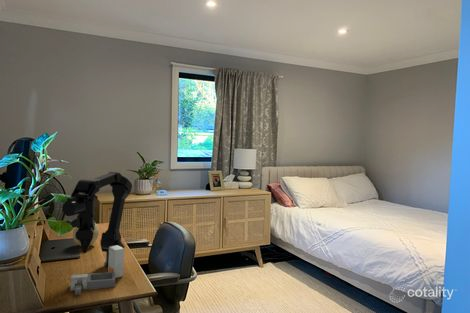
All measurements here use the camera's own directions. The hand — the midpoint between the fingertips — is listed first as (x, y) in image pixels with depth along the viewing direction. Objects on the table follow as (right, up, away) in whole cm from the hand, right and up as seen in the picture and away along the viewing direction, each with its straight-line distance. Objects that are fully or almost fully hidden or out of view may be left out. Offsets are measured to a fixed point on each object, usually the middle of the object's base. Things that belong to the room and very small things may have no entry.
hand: (85, 249), depth 137 cm
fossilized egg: (-19, -10, +44) cm, 49 cm away
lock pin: (+1, -13, -7) cm, 15 cm away
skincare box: (+10, -13, +8) cm, 18 cm away
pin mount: (0, -13, -5) cm, 14 cm away
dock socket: (+7, -13, -2) cm, 15 cm away
